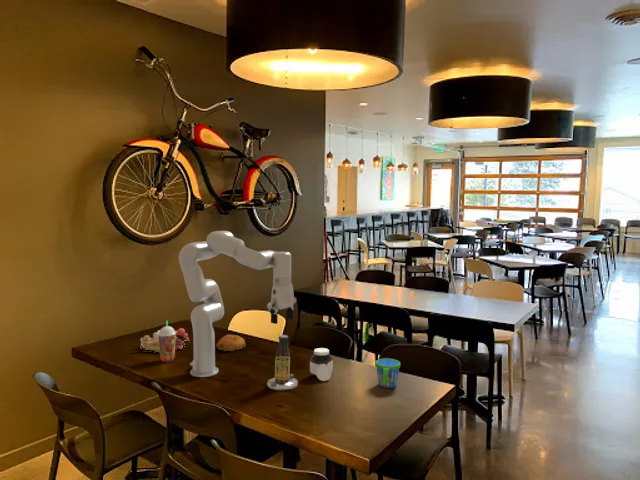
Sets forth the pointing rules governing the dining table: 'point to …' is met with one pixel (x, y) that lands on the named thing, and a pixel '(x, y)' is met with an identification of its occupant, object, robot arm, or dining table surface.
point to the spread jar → (321, 364)
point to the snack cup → (387, 372)
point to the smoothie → (167, 343)
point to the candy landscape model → (155, 343)
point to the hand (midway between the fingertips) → (281, 321)
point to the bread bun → (231, 343)
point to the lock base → (285, 386)
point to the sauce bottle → (282, 361)
